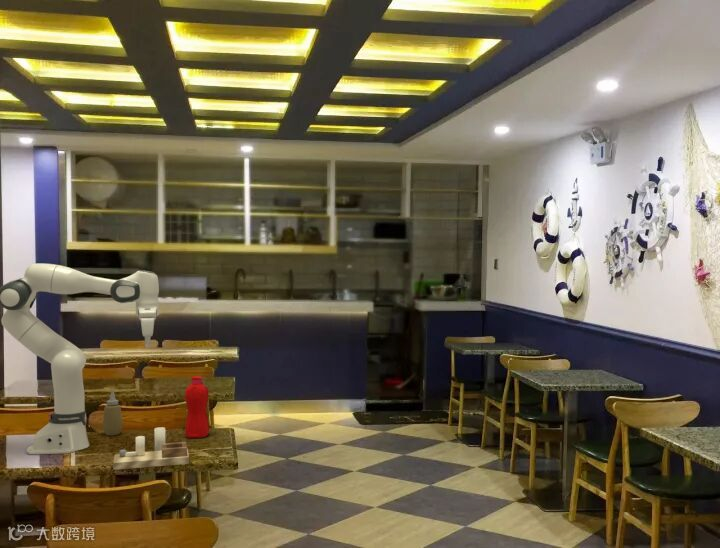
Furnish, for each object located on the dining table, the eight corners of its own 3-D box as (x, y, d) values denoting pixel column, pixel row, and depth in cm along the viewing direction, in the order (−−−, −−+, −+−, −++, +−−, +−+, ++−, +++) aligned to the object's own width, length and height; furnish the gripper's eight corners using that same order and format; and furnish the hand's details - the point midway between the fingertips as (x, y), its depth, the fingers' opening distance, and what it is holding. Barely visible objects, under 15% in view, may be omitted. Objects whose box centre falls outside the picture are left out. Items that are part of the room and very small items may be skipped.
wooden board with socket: (113, 469, 250) (113, 454, 250) (115, 460, 261) (114, 446, 261) (189, 463, 257) (189, 448, 257) (187, 455, 268) (187, 440, 268)
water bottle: (209, 438, 293) (209, 378, 293) (183, 438, 293) (182, 378, 293) (214, 433, 302) (214, 374, 302) (189, 433, 303) (188, 374, 302)
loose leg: (154, 453, 271) (154, 430, 271) (154, 450, 275) (154, 427, 275) (165, 452, 272) (165, 429, 272) (165, 450, 276) (165, 426, 276)
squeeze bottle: (98, 435, 299) (98, 393, 299) (111, 431, 307) (111, 389, 307) (114, 437, 296) (113, 394, 296) (126, 432, 304) (126, 390, 304)
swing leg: (119, 457, 256) (119, 439, 256) (119, 454, 259) (119, 437, 259) (144, 455, 259) (144, 437, 259) (144, 453, 262) (144, 435, 262)
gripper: (139, 309, 291) (139, 343, 291) (138, 312, 271) (139, 349, 271) (155, 309, 293) (155, 342, 293) (156, 312, 273) (156, 348, 273)
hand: (147, 345), depth 282 cm, fingers open, 8 cm apart
